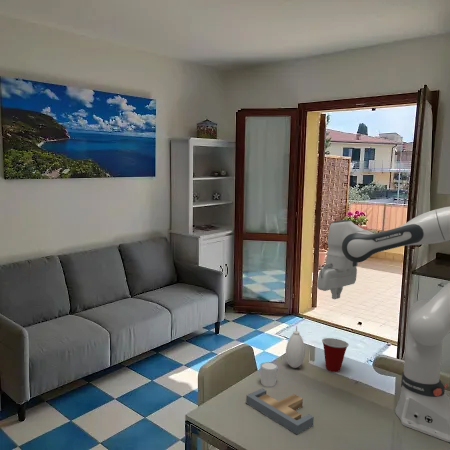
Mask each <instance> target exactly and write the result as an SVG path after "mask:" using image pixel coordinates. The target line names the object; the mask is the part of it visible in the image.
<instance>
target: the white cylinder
mask: <svg viewBox="0 0 450 450" xmlns="http://www.w3.org/2000/svg"><path fill="white" fill-rule="evenodd" d="M259 368H260V369H259V370H260V371H259V372H260V383H261V385H262V386H264V387H274V386H275V385H276V383H277V377H278V371H279V366H278V364H276V363H275V362H268V361H265V362H262V363H261V364H260V365H259Z"/></svg>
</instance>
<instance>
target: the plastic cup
mask: <svg viewBox="0 0 450 450" xmlns="http://www.w3.org/2000/svg"><path fill="white" fill-rule="evenodd" d="M321 341H322V344H323V352H324V353H323V354H324V361H325V362H324V363H325V368H326V370H327V371H328V372H331V373H338V372H340V371H341V368H342V365H343V362H344V358H345V354H346V350H347V348H348V347H349V343H348V342H347V341H345V340H344V339H343V340H342V339H339V338H333V337H326V338H323V339H321Z"/></svg>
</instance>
